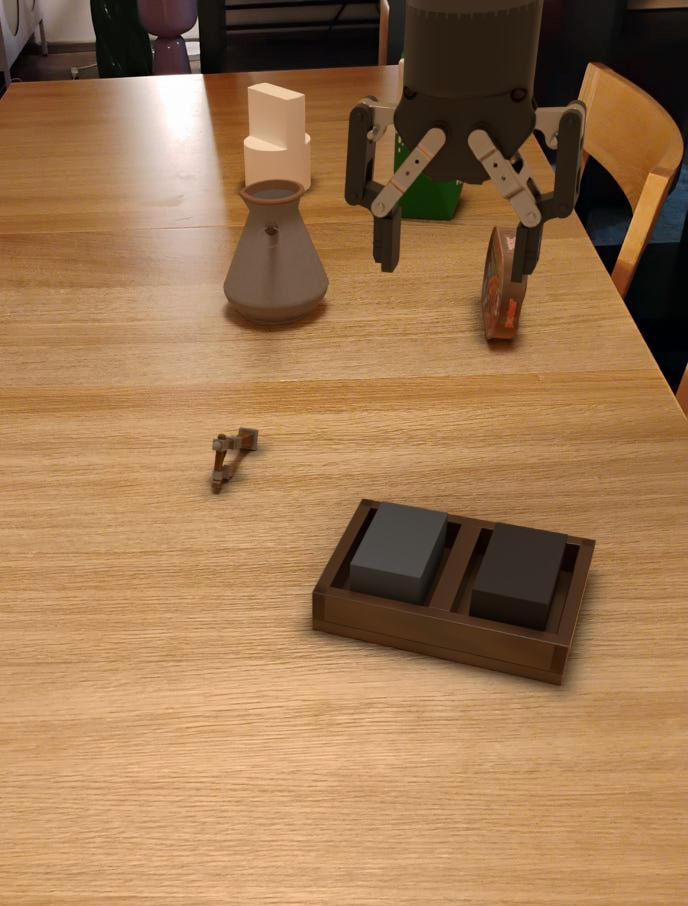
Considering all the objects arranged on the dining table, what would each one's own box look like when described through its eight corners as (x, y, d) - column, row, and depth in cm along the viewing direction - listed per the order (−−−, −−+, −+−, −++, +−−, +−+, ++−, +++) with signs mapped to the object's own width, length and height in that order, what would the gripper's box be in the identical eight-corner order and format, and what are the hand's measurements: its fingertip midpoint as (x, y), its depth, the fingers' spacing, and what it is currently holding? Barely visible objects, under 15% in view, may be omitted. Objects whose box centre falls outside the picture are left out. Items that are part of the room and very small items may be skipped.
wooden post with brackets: (201, 487, 87) (206, 434, 86) (235, 474, 94) (240, 424, 93) (220, 491, 86) (226, 437, 85) (253, 477, 94) (259, 427, 92)
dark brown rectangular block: (559, 577, 75) (568, 533, 72) (539, 648, 70) (548, 604, 67) (490, 564, 77) (496, 521, 74) (466, 632, 71) (471, 588, 69)
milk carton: (399, 195, 136) (408, 23, 123) (468, 198, 134) (485, 23, 120) (385, 220, 130) (393, 42, 117) (458, 223, 128) (474, 42, 114)
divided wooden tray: (587, 577, 76) (596, 539, 74) (560, 685, 68) (569, 647, 66) (360, 534, 82) (362, 497, 80) (311, 628, 74) (311, 592, 72)
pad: (443, 555, 78) (448, 512, 75) (416, 621, 73) (420, 577, 70) (379, 543, 80) (382, 500, 77) (348, 607, 74) (350, 563, 72)
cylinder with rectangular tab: (324, 185, 141) (324, 89, 133) (271, 203, 137) (268, 105, 129) (284, 170, 146) (282, 77, 138) (232, 186, 143) (227, 92, 135)
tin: (479, 290, 113) (488, 212, 108) (509, 289, 113) (519, 212, 107) (487, 354, 103) (497, 272, 97) (520, 354, 102) (532, 271, 96)
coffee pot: (227, 289, 118) (219, 152, 108) (327, 285, 117) (328, 146, 107) (216, 380, 103) (205, 230, 92) (332, 376, 101) (333, 224, 91)
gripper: (617, -27, 57) (572, 259, 68) (369, -23, 62) (364, 243, 73) (599, 6, 52) (554, 308, 63) (331, 7, 57) (332, 287, 68)
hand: (452, 273), depth 68 cm, fingers open, 8 cm apart
